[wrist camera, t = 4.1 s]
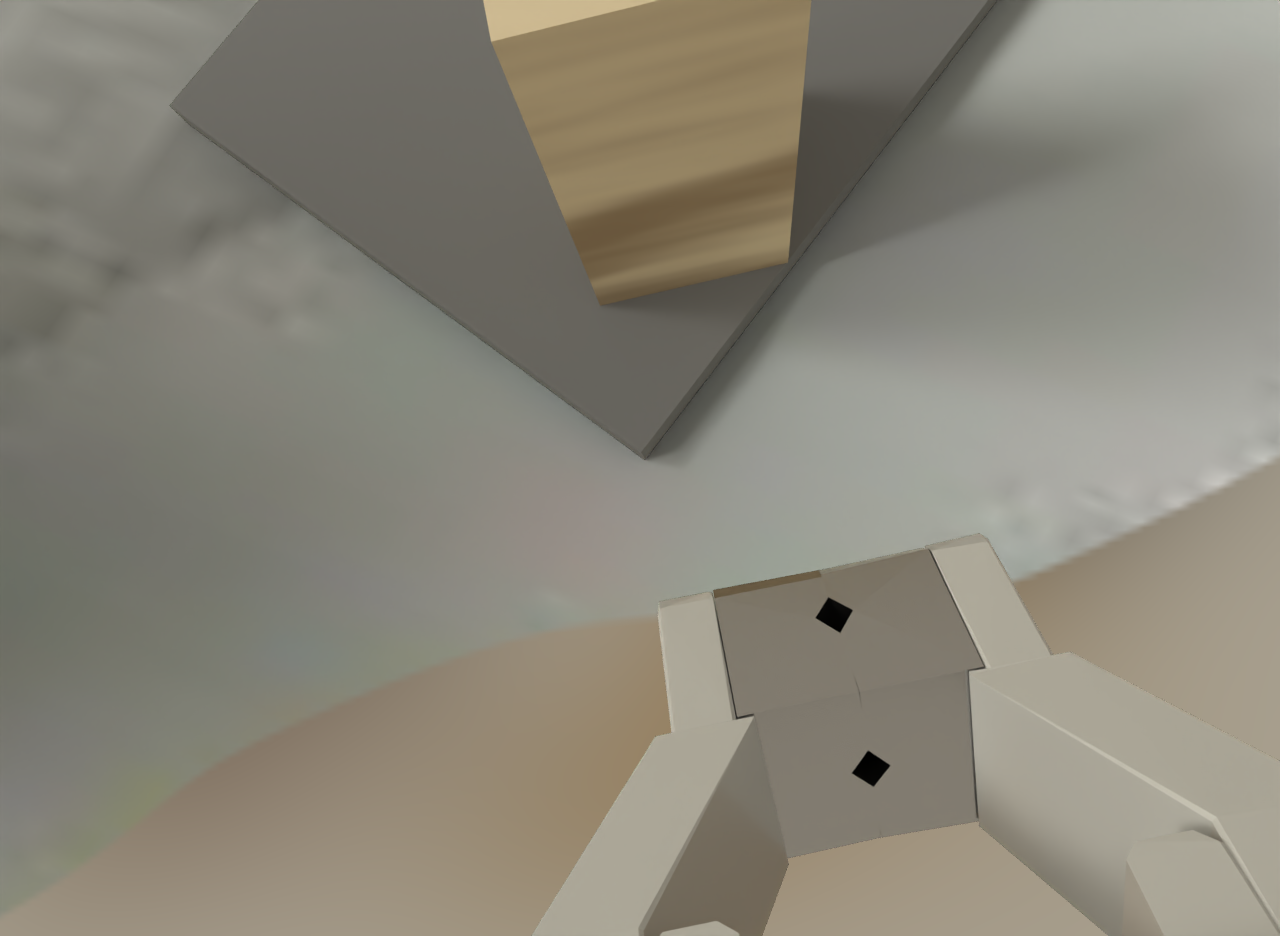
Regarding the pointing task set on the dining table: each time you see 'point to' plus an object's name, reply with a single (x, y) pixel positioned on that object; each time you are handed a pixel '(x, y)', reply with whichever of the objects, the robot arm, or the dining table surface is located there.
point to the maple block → (662, 130)
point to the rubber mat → (532, 177)
